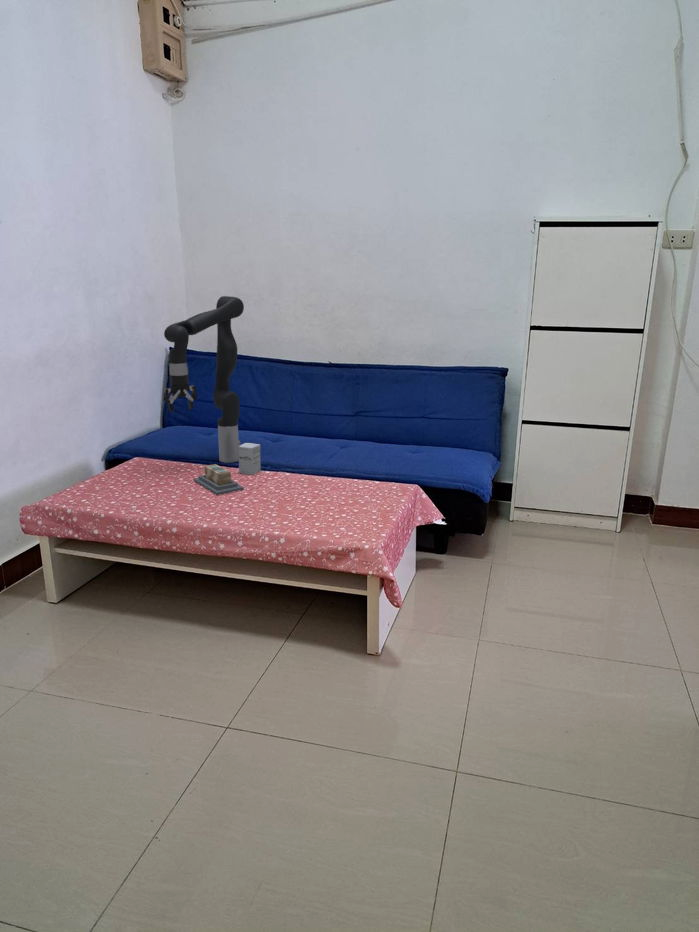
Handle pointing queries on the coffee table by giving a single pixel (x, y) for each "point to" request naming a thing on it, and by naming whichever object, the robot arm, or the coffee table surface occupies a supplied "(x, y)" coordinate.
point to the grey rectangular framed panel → (217, 486)
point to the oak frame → (217, 474)
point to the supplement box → (249, 458)
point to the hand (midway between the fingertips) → (181, 410)
